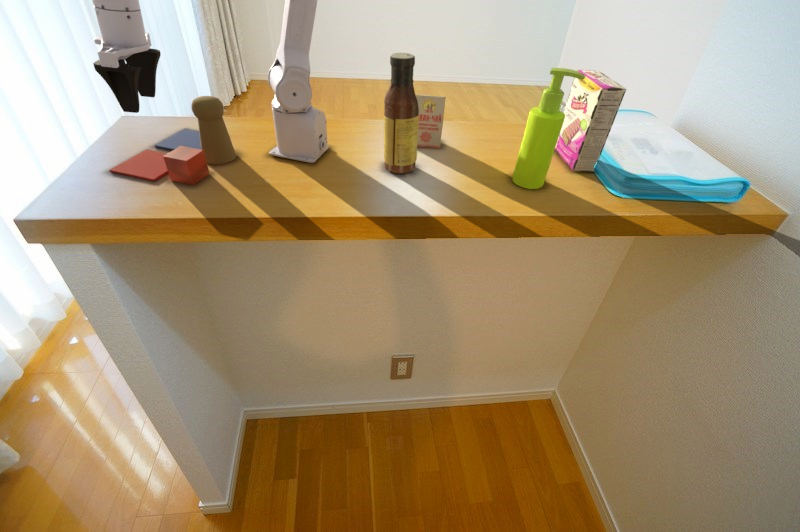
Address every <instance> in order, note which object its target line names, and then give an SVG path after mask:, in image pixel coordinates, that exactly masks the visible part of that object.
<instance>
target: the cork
mask: <svg viewBox="0 0 800 532" xmlns="http://www.w3.org/2000/svg"><path fill="white" fill-rule="evenodd" d="M190 106H191V107H190V108H191V111H192V113H193V115H194V116H195V118H196V119H197V125H198V131H199V134H200V142H201V150H204V154H205V158H206V161H207V164H209V165H223V164H228V163H231V162H233V161H235V159H236V158H237V153H236V151H235V147H234V145H233V143H232V139H231V137H230V134H229V131H228V129H227V126H226V123H225V120H224V117H223V116H224V113H225V108H224V107H225V106H224V104H223V102H222V101H221V100H220V98H218V97H216V96H213V95H200V96H198V97H195V98H194V99H193V100H192V102H191V105H190Z"/></svg>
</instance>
